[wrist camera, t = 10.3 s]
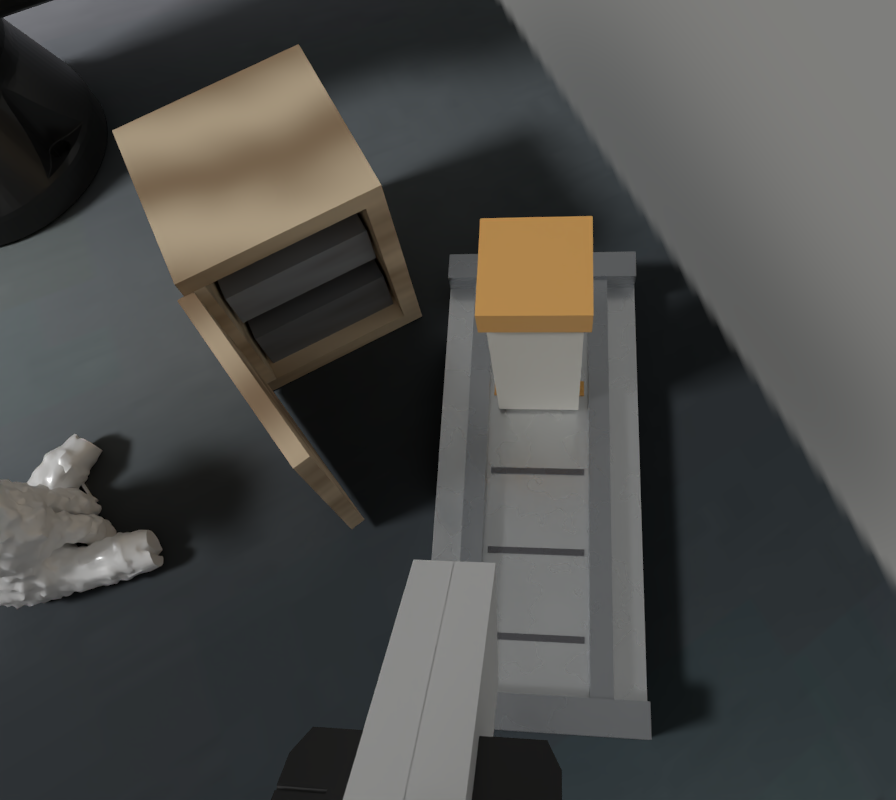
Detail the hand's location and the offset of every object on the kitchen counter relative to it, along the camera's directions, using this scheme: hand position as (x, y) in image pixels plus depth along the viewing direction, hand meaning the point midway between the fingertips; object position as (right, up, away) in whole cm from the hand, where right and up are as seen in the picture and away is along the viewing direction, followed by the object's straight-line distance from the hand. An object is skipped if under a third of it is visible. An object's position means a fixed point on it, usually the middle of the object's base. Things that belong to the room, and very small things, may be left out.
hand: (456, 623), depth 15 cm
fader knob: (+5, +5, +27) cm, 28 cm away
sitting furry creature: (-21, -4, +29) cm, 36 cm away
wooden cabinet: (-6, +7, +31) cm, 32 cm away
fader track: (+4, 0, +27) cm, 27 cm away
